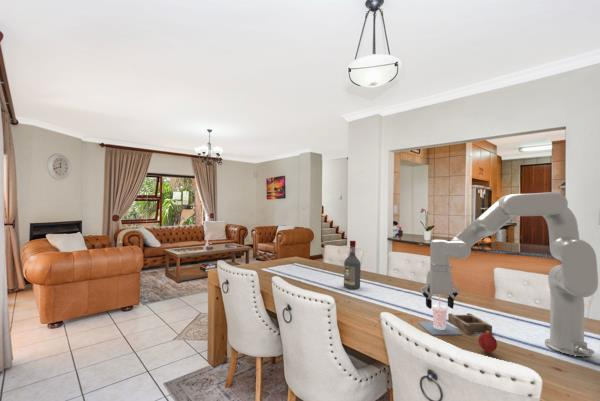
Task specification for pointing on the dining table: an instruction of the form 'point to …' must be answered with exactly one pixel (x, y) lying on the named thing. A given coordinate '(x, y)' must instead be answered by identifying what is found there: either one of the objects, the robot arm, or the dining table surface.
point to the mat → (433, 331)
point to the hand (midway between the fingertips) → (439, 307)
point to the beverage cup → (439, 316)
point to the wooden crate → (469, 323)
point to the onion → (487, 342)
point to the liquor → (352, 269)
